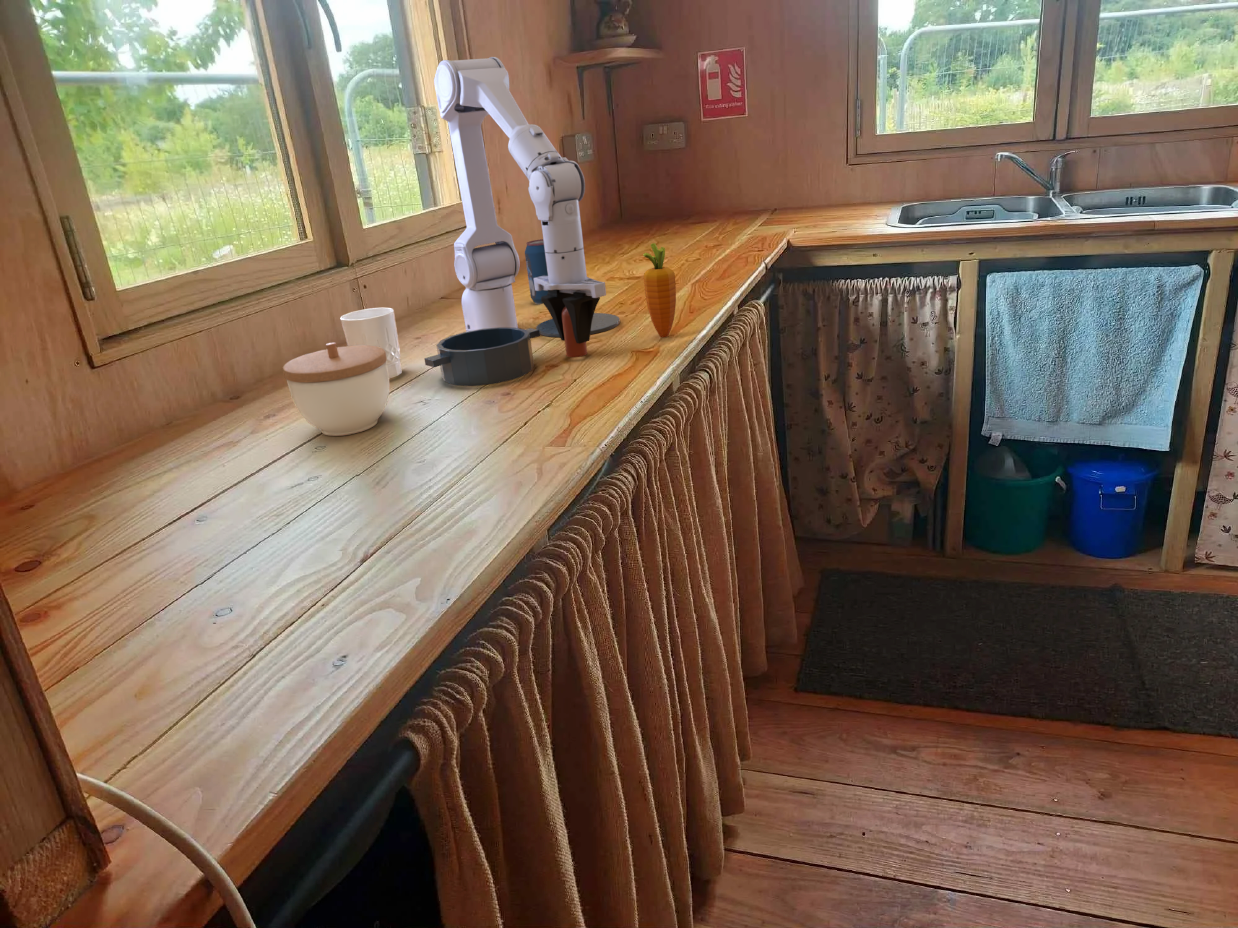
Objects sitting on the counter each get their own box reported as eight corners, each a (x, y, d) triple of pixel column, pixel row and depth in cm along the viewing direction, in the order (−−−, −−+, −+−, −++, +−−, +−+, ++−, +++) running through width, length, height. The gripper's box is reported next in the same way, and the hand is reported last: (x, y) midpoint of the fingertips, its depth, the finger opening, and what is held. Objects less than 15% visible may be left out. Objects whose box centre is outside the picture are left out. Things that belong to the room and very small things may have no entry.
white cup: (416, 370, 136) (404, 307, 132) (384, 386, 129) (370, 320, 126) (376, 369, 139) (363, 307, 135) (343, 384, 133) (328, 319, 129)
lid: (520, 334, 152) (516, 308, 150) (583, 316, 160) (580, 291, 159) (572, 344, 141) (569, 316, 140) (637, 324, 150) (635, 297, 148)
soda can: (572, 298, 177) (565, 238, 173) (552, 306, 172) (544, 244, 167) (545, 297, 181) (537, 238, 176) (524, 305, 176) (516, 244, 171)
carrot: (677, 343, 136) (670, 245, 130) (646, 344, 137) (637, 247, 131) (681, 335, 140) (674, 240, 135) (651, 336, 141) (643, 242, 136)
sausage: (562, 357, 134) (556, 305, 131) (578, 352, 136) (572, 301, 133) (575, 359, 132) (569, 307, 129) (591, 354, 134) (585, 302, 131)
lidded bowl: (307, 452, 105) (285, 364, 101) (292, 425, 116) (272, 344, 112) (409, 427, 110) (392, 342, 106) (386, 403, 121) (369, 325, 117)
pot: (410, 384, 129) (403, 348, 127) (513, 353, 140) (508, 319, 138) (460, 399, 119) (453, 361, 117) (566, 365, 131) (561, 329, 128)
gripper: (513, 252, 130) (525, 341, 136) (574, 257, 120) (585, 352, 125) (550, 244, 135) (560, 330, 140) (612, 248, 124) (621, 341, 130)
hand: (575, 340), depth 133 cm, fingers closed on sausage, 3 cm apart
